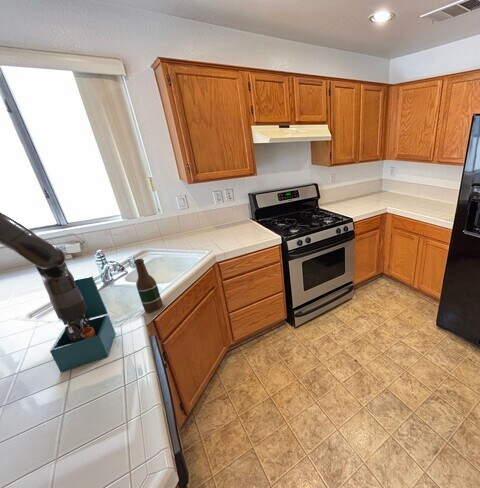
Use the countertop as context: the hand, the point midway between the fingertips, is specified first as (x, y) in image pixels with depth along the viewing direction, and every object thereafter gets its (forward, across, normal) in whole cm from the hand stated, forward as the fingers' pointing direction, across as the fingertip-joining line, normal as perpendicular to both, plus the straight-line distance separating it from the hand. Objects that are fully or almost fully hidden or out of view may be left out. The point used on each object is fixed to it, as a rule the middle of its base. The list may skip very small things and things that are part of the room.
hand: (86, 342), depth 93 cm
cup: (+3, 0, 0) cm, 3 cm away
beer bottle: (+4, +21, -19) cm, 29 cm away
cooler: (+4, 0, 0) cm, 4 cm away
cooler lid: (-13, +7, 0) cm, 15 cm away
